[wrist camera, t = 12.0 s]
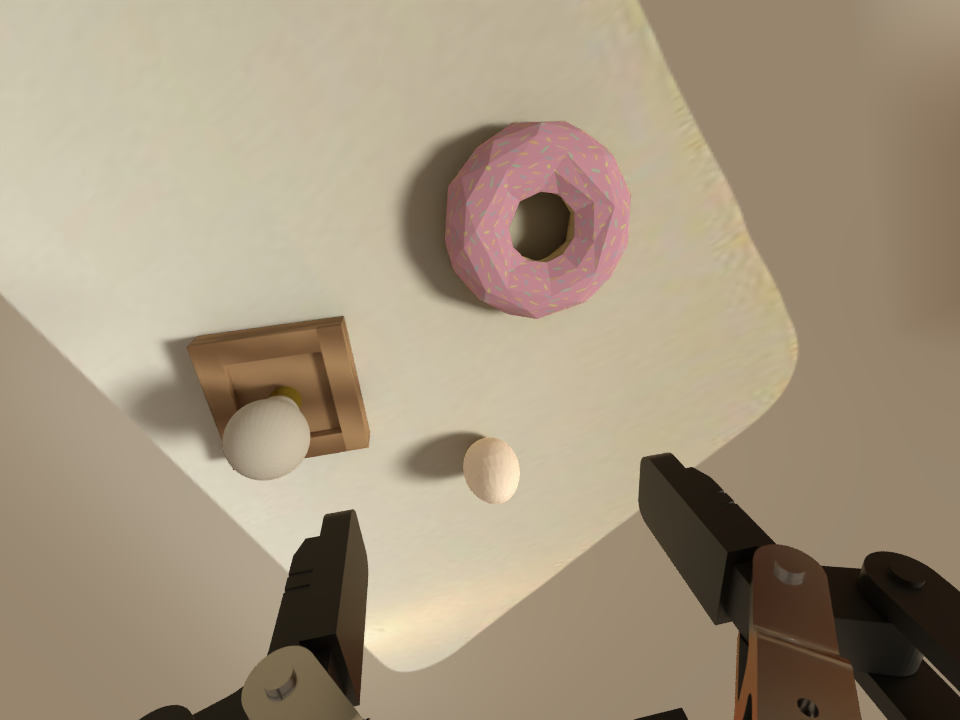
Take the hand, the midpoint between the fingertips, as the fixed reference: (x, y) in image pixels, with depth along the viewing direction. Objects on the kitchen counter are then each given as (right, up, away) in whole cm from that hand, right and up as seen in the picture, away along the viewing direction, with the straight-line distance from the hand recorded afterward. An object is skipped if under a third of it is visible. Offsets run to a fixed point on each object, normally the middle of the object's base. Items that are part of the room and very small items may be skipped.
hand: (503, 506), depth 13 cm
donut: (+4, +16, +27) cm, 32 cm away
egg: (0, -5, +36) cm, 36 cm away
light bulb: (-17, +1, +28) cm, 33 cm away
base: (-18, +2, +29) cm, 34 cm away
